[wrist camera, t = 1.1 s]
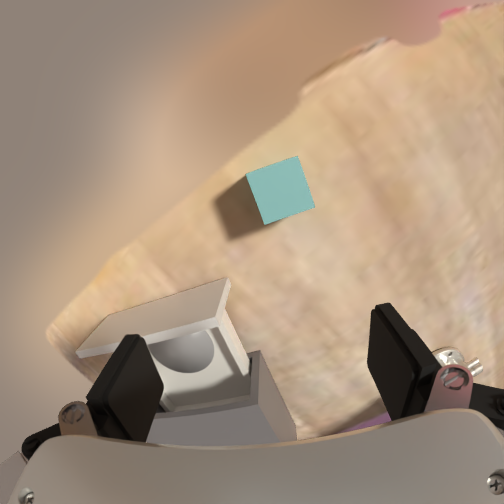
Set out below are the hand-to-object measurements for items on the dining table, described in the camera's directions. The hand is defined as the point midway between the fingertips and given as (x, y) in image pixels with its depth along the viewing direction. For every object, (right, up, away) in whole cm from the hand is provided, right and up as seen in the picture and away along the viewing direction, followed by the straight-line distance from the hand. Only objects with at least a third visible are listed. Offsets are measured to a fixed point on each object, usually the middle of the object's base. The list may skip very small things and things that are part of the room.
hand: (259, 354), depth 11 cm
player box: (-5, -20, +29) cm, 36 cm away
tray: (-9, -10, +26) cm, 29 cm away
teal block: (+3, +11, +20) cm, 23 cm away
